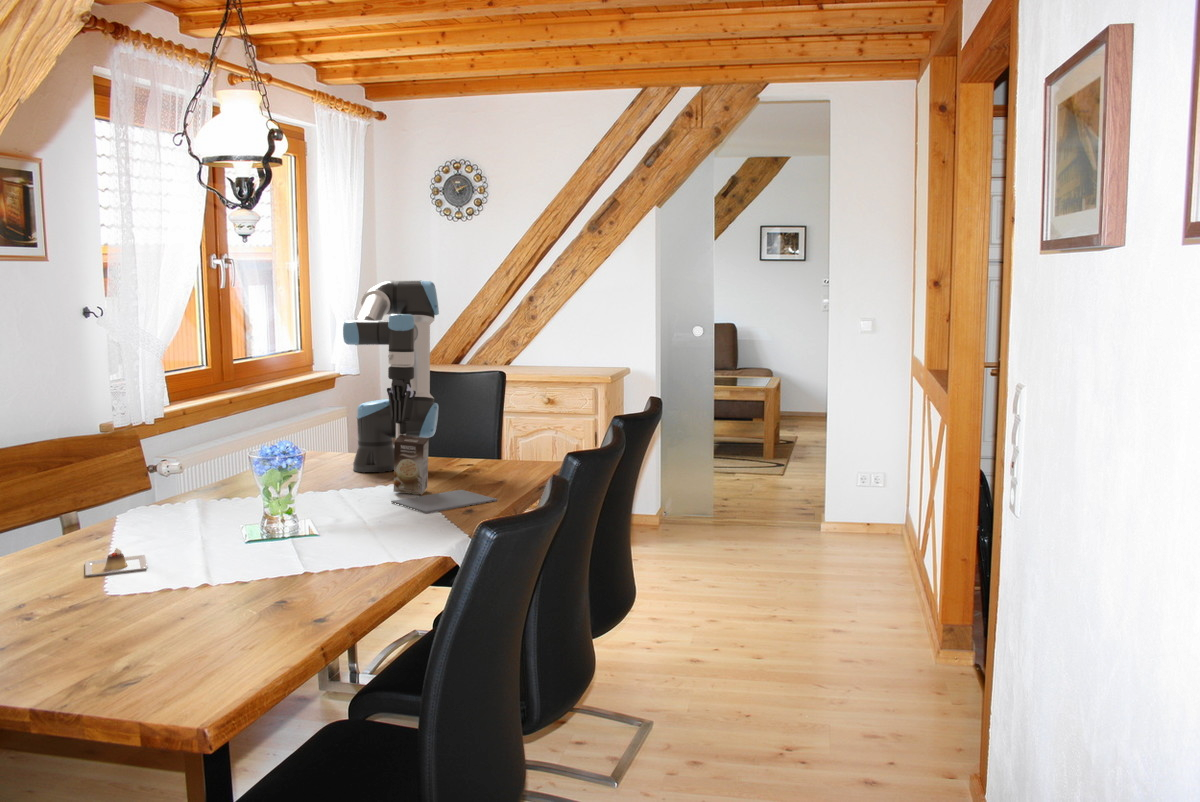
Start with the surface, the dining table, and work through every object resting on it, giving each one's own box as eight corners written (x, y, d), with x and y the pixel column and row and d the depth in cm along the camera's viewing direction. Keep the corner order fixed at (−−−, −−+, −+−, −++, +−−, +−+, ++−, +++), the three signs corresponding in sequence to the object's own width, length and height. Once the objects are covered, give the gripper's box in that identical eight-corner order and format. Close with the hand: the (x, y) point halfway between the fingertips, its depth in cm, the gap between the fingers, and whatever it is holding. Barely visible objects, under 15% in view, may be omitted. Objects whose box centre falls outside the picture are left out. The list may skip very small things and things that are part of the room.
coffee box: (392, 492, 294) (392, 441, 289) (399, 484, 300) (399, 434, 295) (422, 495, 293) (423, 444, 288) (428, 487, 299) (429, 437, 294)
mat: (391, 502, 282) (391, 500, 282) (461, 491, 298) (461, 489, 298) (425, 513, 269) (425, 511, 268) (497, 501, 285) (497, 498, 285)
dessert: (85, 580, 208) (84, 558, 208) (85, 566, 219) (84, 544, 218) (148, 572, 214) (146, 551, 213) (144, 559, 224) (143, 538, 224)
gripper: (379, 364, 297) (378, 443, 299) (401, 367, 287) (400, 448, 289) (401, 364, 302) (400, 441, 304) (423, 366, 292) (423, 446, 294)
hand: (400, 444), depth 297 cm, fingers closed
